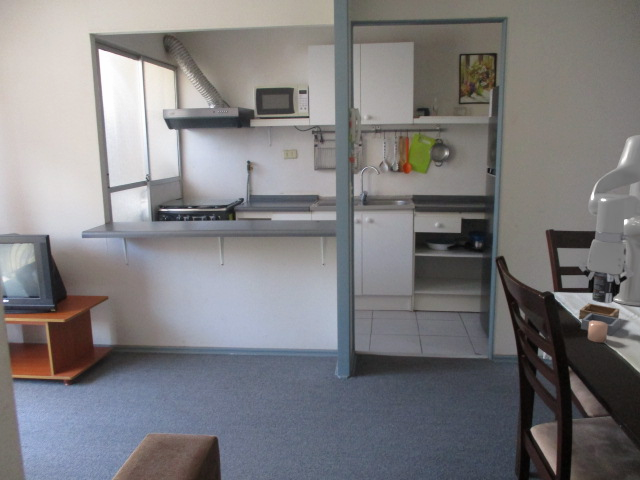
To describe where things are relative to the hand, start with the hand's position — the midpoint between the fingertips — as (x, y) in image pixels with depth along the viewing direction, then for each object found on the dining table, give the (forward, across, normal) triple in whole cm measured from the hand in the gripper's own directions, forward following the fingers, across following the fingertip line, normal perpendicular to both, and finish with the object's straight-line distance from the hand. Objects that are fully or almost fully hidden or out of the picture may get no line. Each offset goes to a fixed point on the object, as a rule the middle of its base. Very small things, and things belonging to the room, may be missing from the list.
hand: (603, 293), depth 170 cm
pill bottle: (+3, 0, 0) cm, 3 cm away
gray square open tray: (+12, 0, 0) cm, 12 cm away
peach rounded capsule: (+12, -2, +10) cm, 16 cm away
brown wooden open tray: (+12, +3, -10) cm, 15 cm away
